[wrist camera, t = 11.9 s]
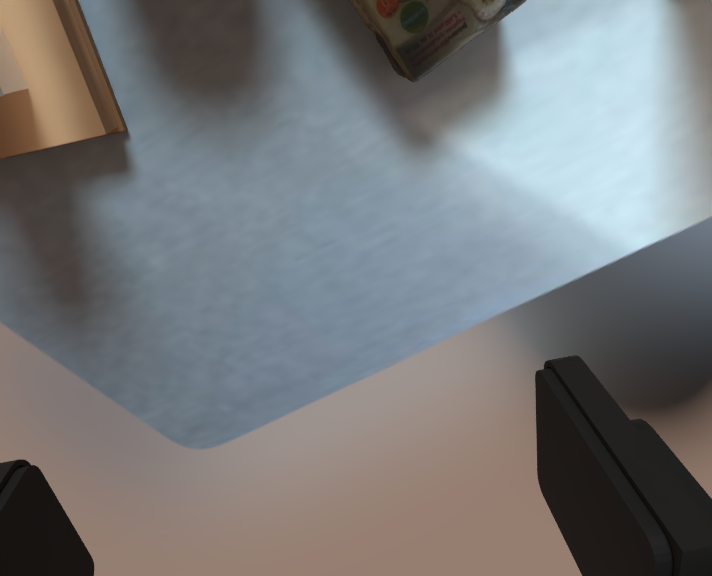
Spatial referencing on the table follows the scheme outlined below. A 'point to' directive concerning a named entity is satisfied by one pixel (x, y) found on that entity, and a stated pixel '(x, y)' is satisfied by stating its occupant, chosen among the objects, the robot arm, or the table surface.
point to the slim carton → (9, 69)
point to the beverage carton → (428, 28)
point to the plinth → (54, 79)
